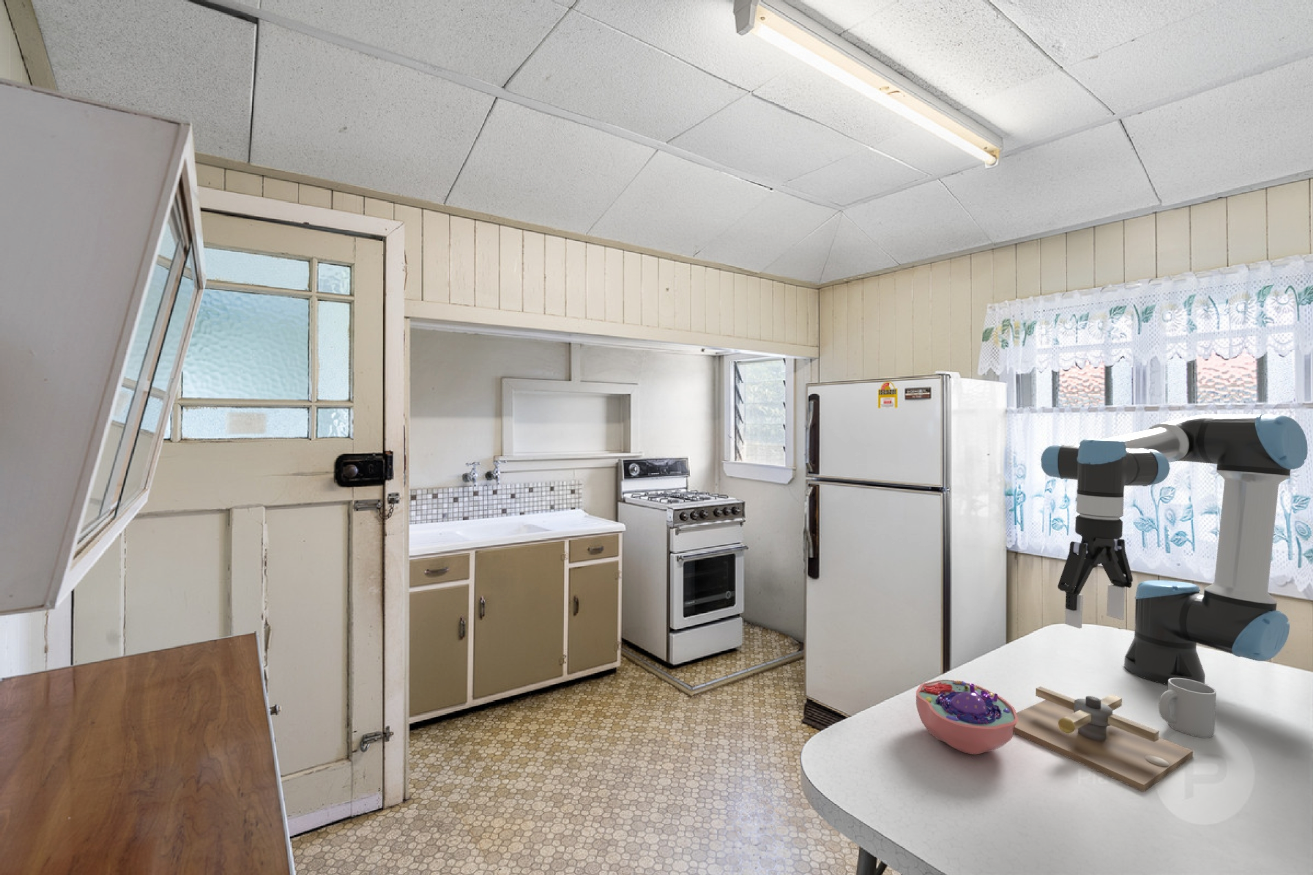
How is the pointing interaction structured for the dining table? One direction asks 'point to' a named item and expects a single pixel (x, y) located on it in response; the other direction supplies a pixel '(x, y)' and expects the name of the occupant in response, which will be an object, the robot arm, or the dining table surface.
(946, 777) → the dining table surface
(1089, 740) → the stand
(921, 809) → the dining table surface
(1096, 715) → the capstan
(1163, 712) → the cup
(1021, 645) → the dining table surface
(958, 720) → the cell model
